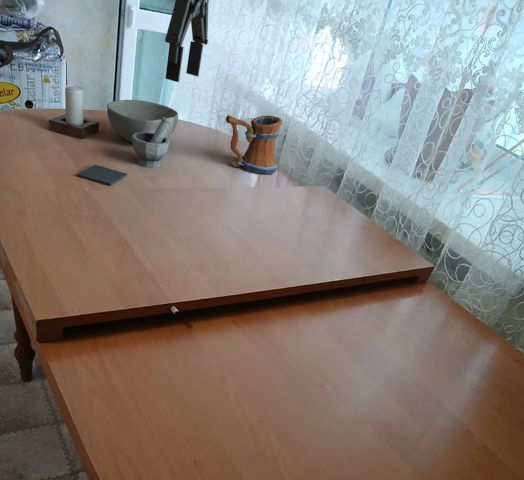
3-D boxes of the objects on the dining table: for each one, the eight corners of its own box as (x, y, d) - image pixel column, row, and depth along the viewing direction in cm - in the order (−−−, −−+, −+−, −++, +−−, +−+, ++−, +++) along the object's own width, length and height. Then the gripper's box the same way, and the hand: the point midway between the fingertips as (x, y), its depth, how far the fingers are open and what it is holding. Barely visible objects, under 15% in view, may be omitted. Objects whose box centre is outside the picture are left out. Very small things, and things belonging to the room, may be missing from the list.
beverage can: (83, 134, 159) (83, 90, 152) (66, 132, 158) (65, 88, 151) (82, 129, 163) (82, 86, 156) (65, 127, 161) (64, 84, 154)
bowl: (150, 129, 175) (152, 96, 169) (188, 151, 165) (192, 117, 159) (93, 132, 162) (93, 97, 157) (130, 156, 152) (132, 119, 146)
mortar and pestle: (146, 171, 145) (149, 125, 138) (124, 159, 149) (125, 113, 142) (177, 166, 153) (182, 122, 146) (155, 155, 157) (158, 111, 150)
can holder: (49, 130, 157) (48, 119, 155) (68, 123, 165) (68, 113, 163) (81, 139, 155) (81, 128, 154) (99, 132, 164) (99, 121, 162)
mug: (226, 173, 155) (234, 119, 147) (213, 159, 163) (220, 107, 155) (282, 176, 163) (293, 124, 154) (267, 162, 171) (276, 112, 162)
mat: (76, 176, 134) (76, 173, 133) (95, 166, 141) (95, 164, 140) (110, 186, 133) (110, 183, 132) (127, 175, 140) (127, 173, 140)
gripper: (198, -42, 96) (180, 88, 107) (232, -30, 116) (214, 77, 128) (157, -53, 96) (144, 77, 107) (199, -40, 117) (184, 68, 128)
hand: (182, 77), depth 118 cm, fingers open, 13 cm apart
